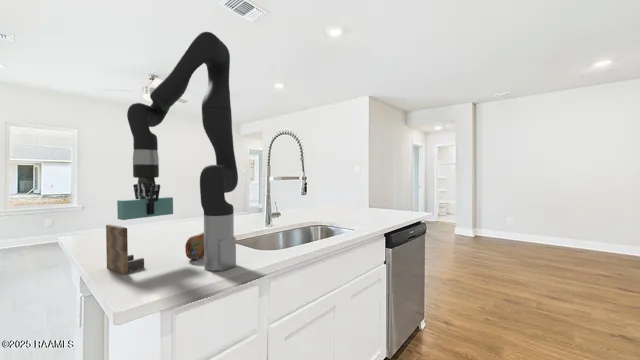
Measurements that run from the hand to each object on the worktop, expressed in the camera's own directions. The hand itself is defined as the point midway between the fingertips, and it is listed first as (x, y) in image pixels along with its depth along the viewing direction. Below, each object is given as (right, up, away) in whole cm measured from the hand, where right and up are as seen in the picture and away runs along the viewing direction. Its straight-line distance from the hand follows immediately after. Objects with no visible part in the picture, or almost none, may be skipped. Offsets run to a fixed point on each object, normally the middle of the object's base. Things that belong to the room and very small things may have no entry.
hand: (146, 213), depth 97 cm
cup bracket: (-4, -17, -5) cm, 18 cm away
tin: (+15, -17, +8) cm, 24 cm away
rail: (0, -1, 0) cm, 1 cm away
